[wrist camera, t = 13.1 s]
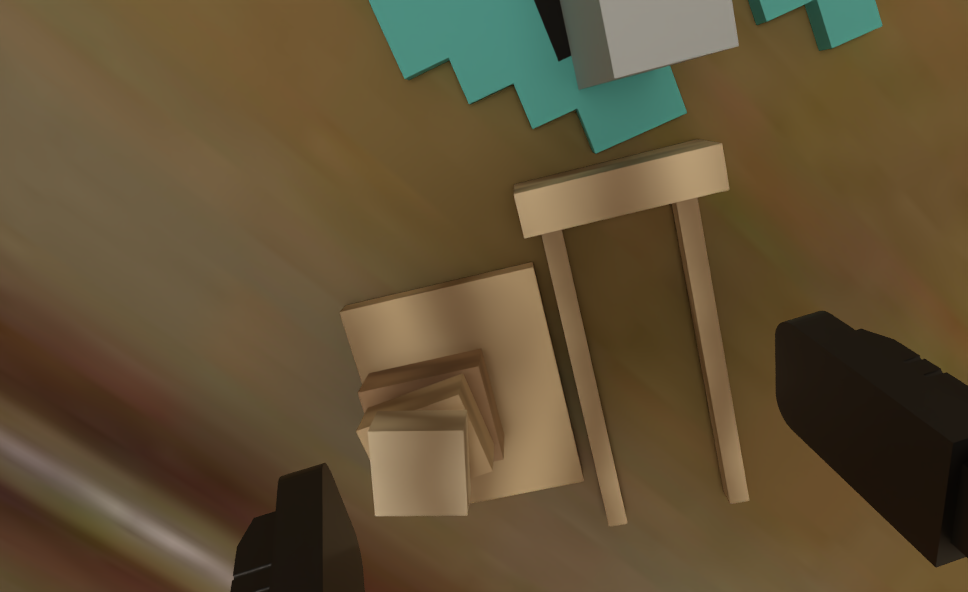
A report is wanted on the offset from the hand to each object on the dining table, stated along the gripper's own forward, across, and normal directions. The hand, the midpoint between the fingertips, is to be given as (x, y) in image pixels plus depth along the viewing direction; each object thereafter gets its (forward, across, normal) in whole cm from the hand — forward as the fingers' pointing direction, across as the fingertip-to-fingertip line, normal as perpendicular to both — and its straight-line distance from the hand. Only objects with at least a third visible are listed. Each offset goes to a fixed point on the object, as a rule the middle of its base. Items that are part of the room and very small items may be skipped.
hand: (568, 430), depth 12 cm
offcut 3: (+16, -3, -12) cm, 20 cm away
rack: (+21, +4, -12) cm, 24 cm away
